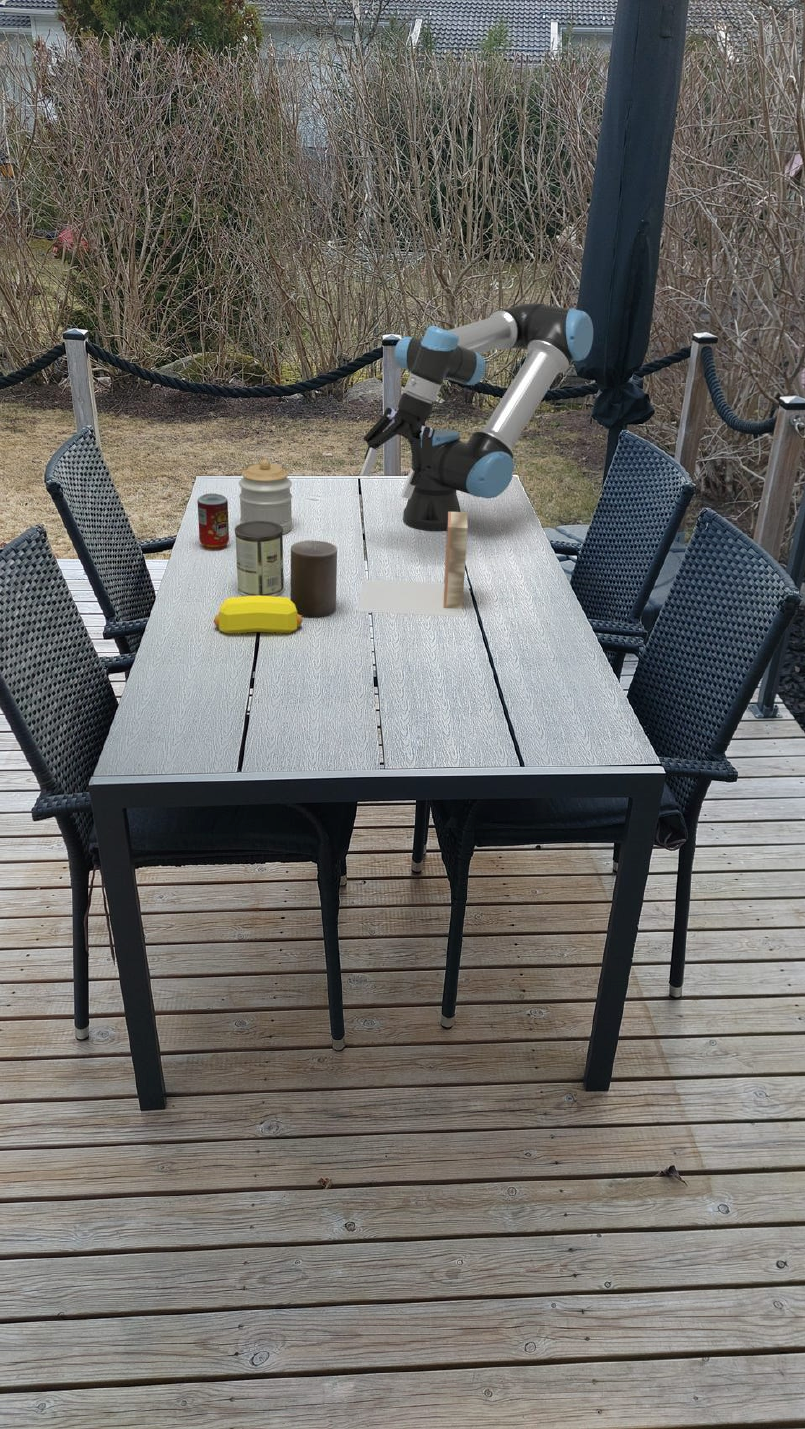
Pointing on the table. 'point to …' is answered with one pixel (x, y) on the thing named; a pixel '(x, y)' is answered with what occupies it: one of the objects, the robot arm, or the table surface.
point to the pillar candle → (313, 578)
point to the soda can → (213, 521)
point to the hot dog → (258, 615)
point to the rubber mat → (404, 598)
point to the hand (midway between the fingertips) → (384, 486)
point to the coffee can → (259, 558)
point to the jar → (266, 495)
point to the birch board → (455, 559)
